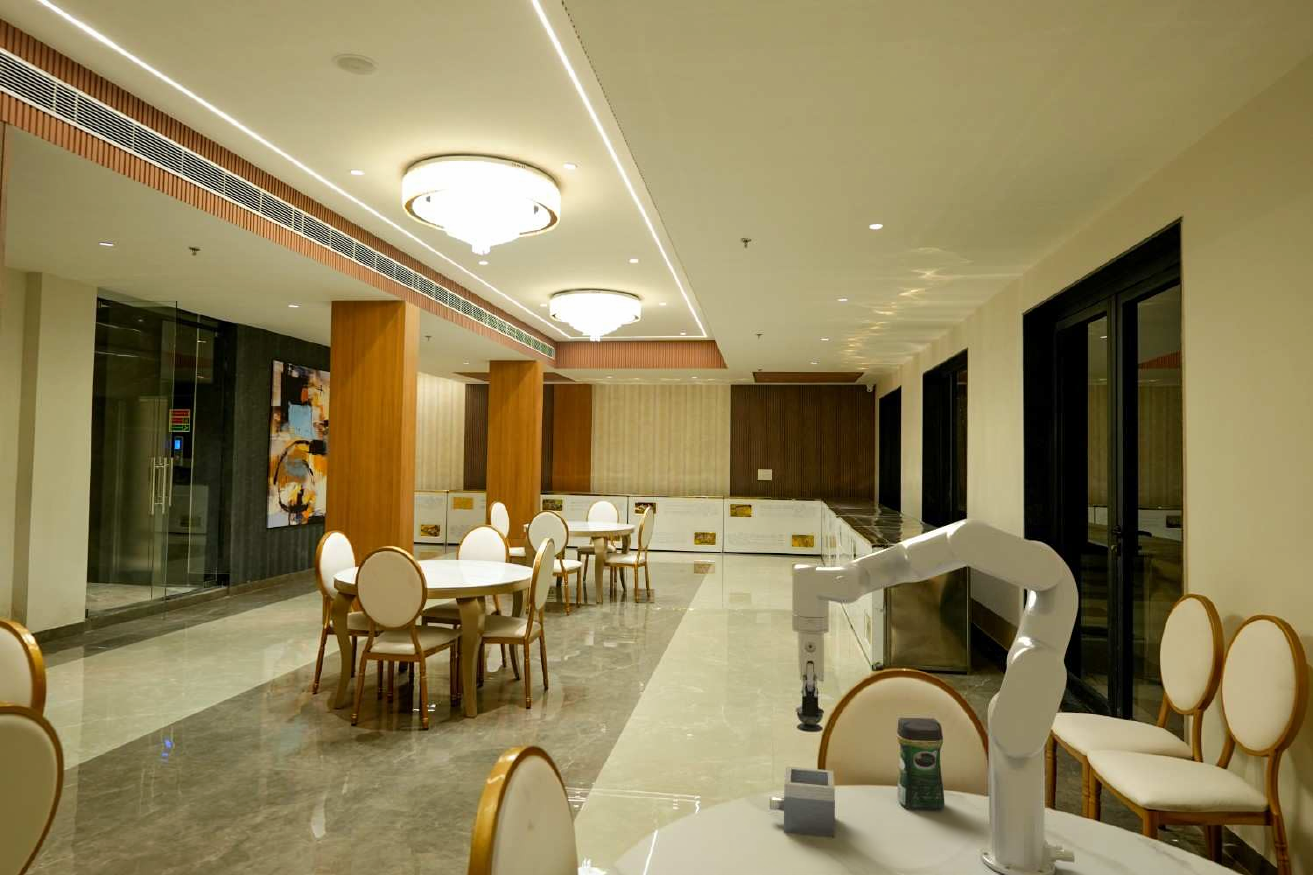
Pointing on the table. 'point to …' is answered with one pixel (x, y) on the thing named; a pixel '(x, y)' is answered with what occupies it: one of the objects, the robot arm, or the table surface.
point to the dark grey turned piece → (809, 719)
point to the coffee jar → (920, 764)
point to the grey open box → (807, 802)
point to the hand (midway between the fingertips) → (810, 710)
